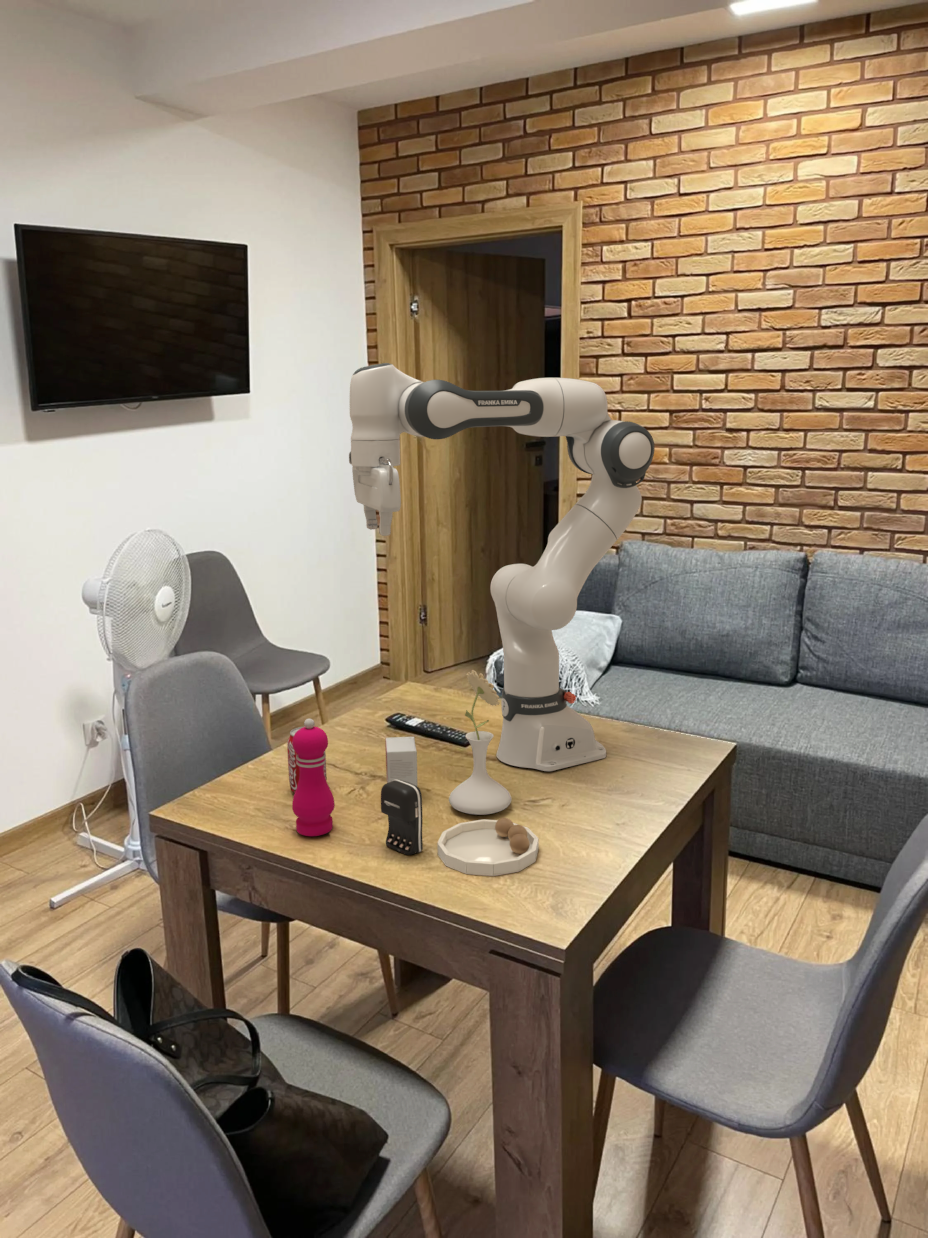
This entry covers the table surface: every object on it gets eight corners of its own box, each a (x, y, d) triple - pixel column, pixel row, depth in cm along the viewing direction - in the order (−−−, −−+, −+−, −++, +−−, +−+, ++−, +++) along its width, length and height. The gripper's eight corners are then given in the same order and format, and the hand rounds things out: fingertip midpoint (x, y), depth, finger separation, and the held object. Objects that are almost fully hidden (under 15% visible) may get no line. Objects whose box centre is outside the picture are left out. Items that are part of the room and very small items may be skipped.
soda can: (319, 799, 179) (316, 738, 177) (283, 797, 181) (280, 736, 178) (332, 785, 186) (329, 726, 184) (297, 782, 188) (294, 724, 185)
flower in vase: (518, 817, 171) (518, 681, 165) (455, 824, 168) (453, 686, 163) (500, 789, 183) (500, 662, 178) (441, 795, 181) (439, 666, 175)
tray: (515, 825, 167) (515, 814, 167) (553, 865, 153) (553, 853, 152) (427, 839, 162) (426, 828, 162) (457, 882, 148) (457, 870, 147)
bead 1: (510, 831, 164) (509, 813, 163) (517, 838, 161) (517, 821, 160) (492, 834, 163) (492, 816, 162) (499, 841, 160) (499, 823, 159)
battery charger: (378, 847, 160) (376, 782, 157) (395, 839, 163) (393, 775, 160) (407, 860, 155) (405, 793, 153) (424, 852, 158) (423, 786, 155)
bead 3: (525, 847, 158) (525, 829, 157) (532, 855, 155) (532, 837, 154) (506, 850, 157) (506, 832, 156) (514, 859, 154) (514, 840, 153)
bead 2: (522, 838, 161) (522, 820, 160) (530, 846, 158) (530, 828, 157) (505, 841, 160) (505, 823, 159) (512, 849, 157) (512, 831, 156)
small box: (386, 789, 184) (384, 737, 182) (416, 787, 184) (414, 735, 182) (387, 806, 176) (385, 751, 174) (418, 804, 177) (416, 750, 174)
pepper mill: (316, 841, 162) (311, 728, 158) (284, 832, 166) (278, 721, 162) (344, 825, 168) (339, 716, 164) (312, 816, 172) (306, 709, 168)
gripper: (408, 458, 166) (410, 538, 169) (378, 453, 185) (381, 524, 188) (372, 459, 164) (375, 540, 167) (346, 454, 183) (349, 526, 186)
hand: (378, 532), depth 178 cm, fingers open, 8 cm apart
